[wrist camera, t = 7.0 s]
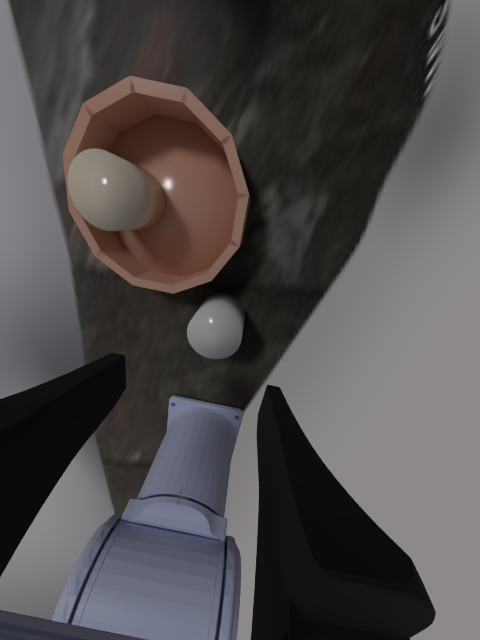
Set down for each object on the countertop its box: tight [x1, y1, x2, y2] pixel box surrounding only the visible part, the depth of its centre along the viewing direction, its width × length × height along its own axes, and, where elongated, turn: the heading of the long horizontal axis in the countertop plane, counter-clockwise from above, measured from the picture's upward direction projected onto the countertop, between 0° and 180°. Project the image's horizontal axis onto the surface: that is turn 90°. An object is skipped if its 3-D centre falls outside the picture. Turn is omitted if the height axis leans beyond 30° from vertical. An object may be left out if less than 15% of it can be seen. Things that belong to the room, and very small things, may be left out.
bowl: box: [63, 76, 251, 294], centre depth 15 cm, size 11×11×3 cm
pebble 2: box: [187, 293, 245, 359], centre depth 18 cm, size 4×4×4 cm
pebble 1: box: [68, 149, 166, 231], centre depth 14 cm, size 4×4×4 cm
